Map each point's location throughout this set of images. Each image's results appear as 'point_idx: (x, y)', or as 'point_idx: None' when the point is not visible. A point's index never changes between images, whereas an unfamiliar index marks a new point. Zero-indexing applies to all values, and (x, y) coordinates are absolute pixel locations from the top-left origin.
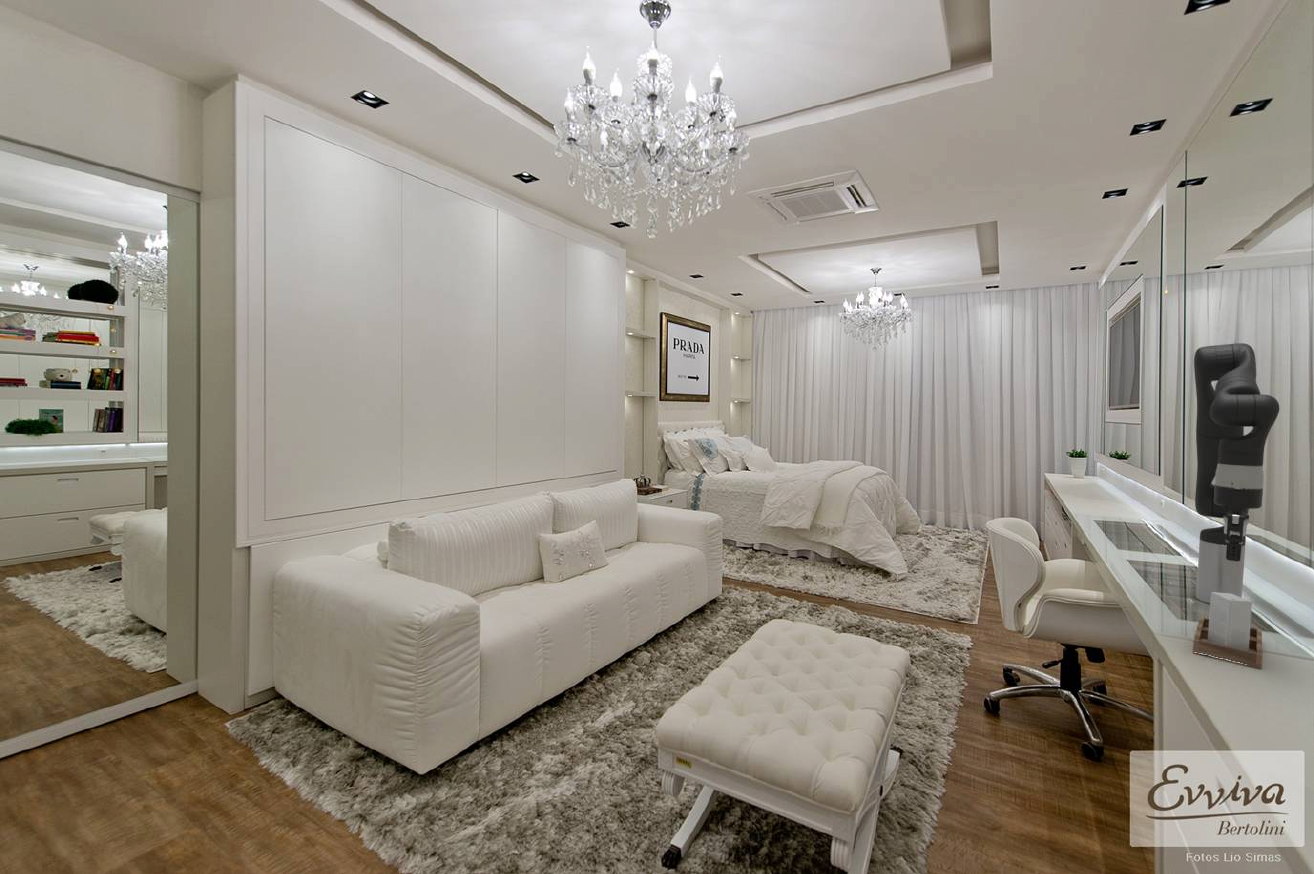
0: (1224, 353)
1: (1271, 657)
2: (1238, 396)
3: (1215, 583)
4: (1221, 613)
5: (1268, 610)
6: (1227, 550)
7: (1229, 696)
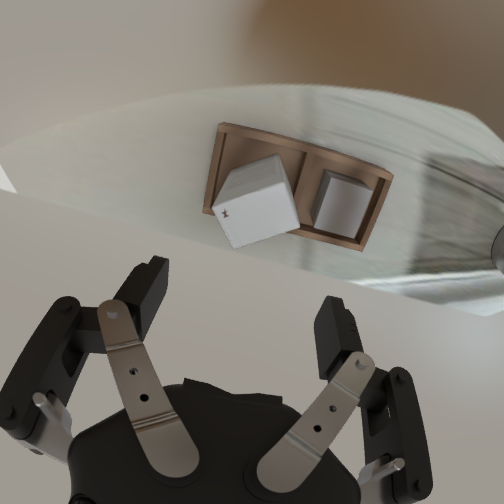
0: None
1: None
2: None
3: None
4: (242, 183)
5: (484, 287)
6: (139, 279)
7: (75, 150)
